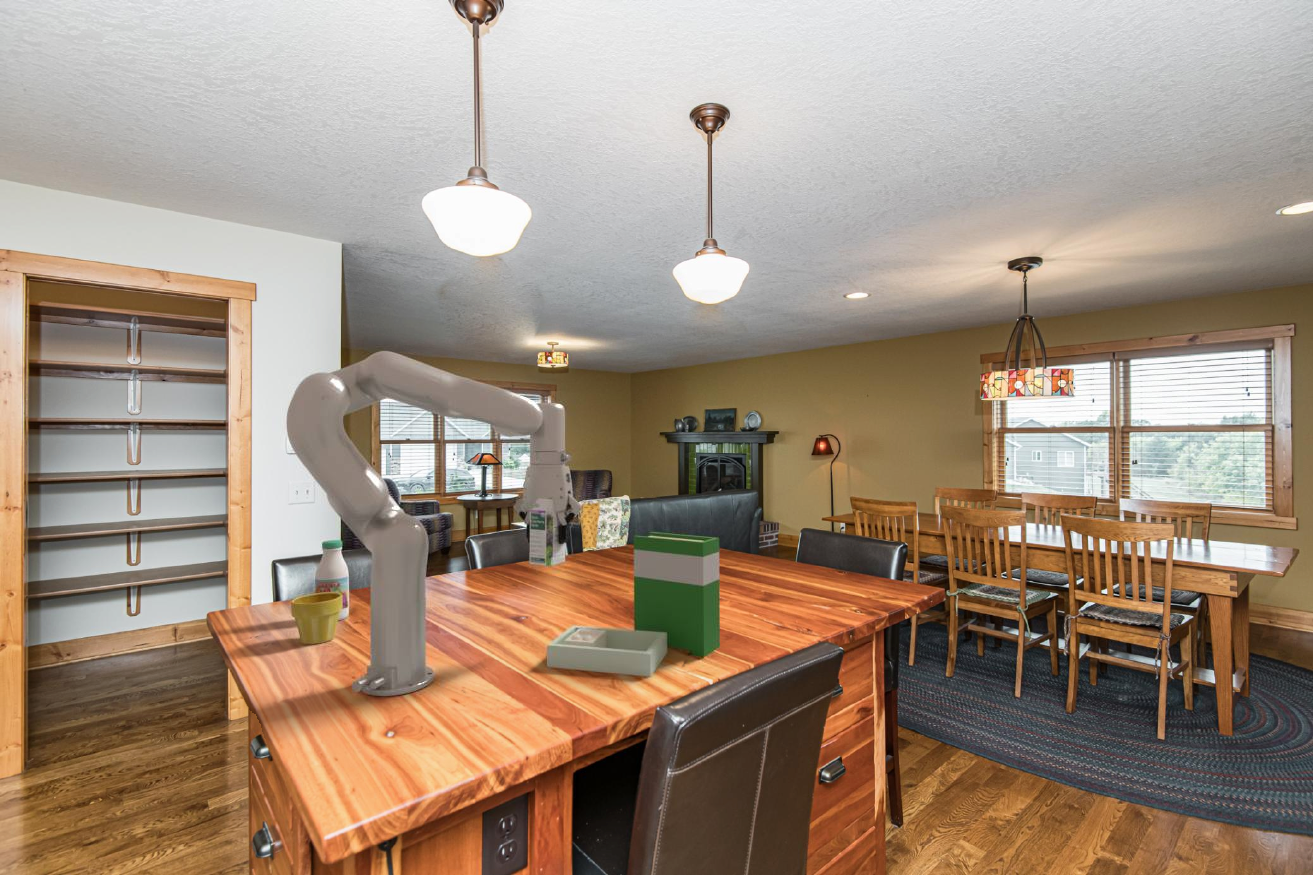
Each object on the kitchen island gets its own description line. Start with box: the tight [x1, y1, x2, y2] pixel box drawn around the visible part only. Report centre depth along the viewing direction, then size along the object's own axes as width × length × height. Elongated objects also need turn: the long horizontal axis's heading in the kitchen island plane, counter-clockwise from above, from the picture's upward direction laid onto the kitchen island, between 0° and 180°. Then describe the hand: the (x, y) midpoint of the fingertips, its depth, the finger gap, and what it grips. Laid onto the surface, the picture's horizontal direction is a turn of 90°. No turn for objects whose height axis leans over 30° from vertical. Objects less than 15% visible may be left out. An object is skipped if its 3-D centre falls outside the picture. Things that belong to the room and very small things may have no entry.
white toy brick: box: [564, 628, 606, 648], centre depth 122 cm, size 8×6×5 cm
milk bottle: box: [314, 539, 350, 621], centre depth 153 cm, size 8×8×20 cm
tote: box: [546, 625, 668, 678], centre depth 121 cm, size 13×21×5 cm, turn 76°
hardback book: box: [633, 531, 721, 659], centre depth 132 cm, size 18×7×24 cm, turn 57°
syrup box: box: [529, 498, 566, 567], centre depth 129 cm, size 6×6×14 cm
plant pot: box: [290, 592, 343, 645], centre depth 136 cm, size 10×10×10 cm
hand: (547, 541), depth 128 cm, fingers closed on syrup box, 6 cm apart
